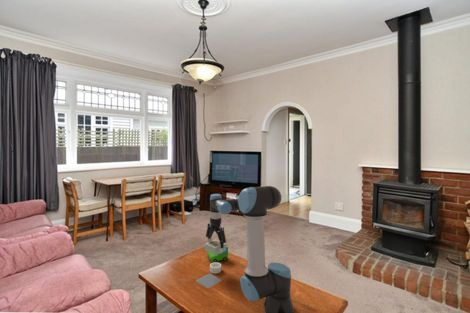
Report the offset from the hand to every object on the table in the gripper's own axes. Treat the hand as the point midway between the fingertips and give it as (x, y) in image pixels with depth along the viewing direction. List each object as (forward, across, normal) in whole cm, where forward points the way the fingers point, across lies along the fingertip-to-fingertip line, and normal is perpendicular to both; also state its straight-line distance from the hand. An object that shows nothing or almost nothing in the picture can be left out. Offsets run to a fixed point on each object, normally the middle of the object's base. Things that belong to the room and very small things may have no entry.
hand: (215, 250), depth 168 cm
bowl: (+14, 0, 0) cm, 14 cm away
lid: (0, 0, 0) cm, 0 cm away
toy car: (+15, +11, -12) cm, 22 cm away
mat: (+14, -6, +11) cm, 19 cm away
